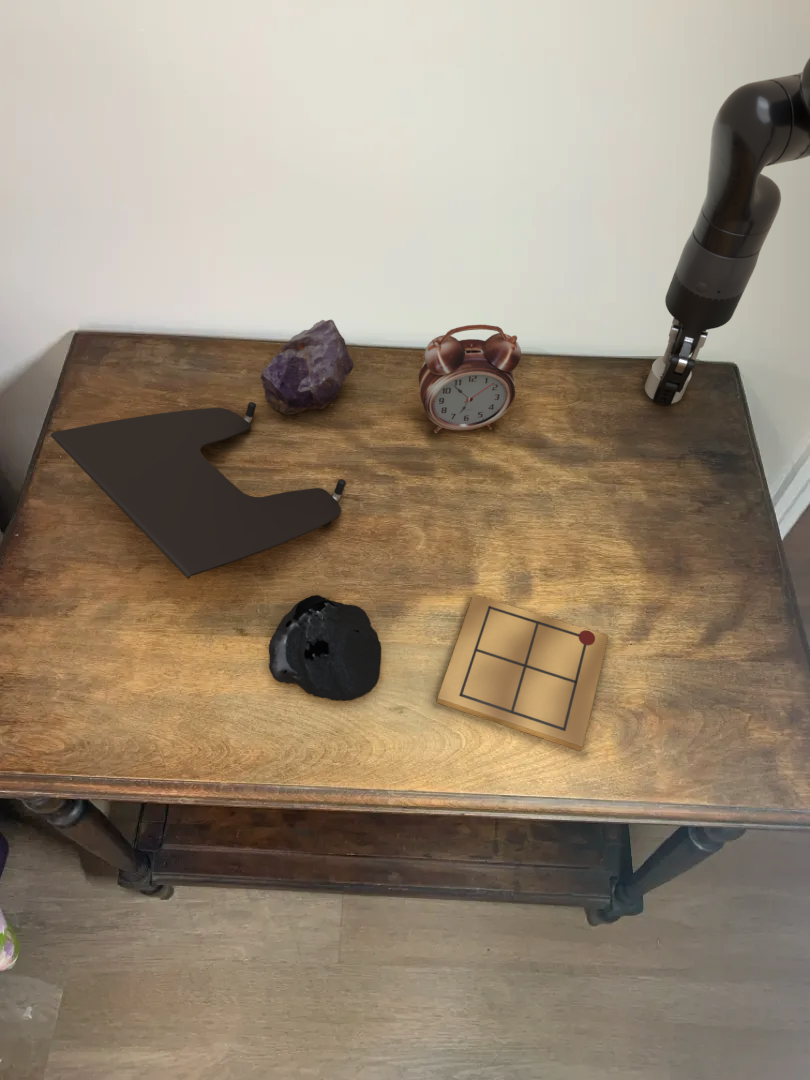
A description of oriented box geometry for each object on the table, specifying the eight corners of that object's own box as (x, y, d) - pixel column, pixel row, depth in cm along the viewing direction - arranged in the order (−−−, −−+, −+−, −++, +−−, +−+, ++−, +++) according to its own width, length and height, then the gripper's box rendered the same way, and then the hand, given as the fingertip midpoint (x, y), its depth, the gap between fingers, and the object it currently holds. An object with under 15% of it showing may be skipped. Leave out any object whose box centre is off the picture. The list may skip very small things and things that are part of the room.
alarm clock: (420, 440, 95) (427, 344, 83) (414, 410, 98) (420, 312, 85) (511, 433, 96) (531, 337, 84) (503, 403, 99) (521, 306, 86)
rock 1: (259, 406, 99) (321, 444, 96) (240, 360, 92) (307, 400, 88) (320, 344, 103) (382, 379, 99) (307, 295, 95) (374, 331, 92)
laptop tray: (342, 562, 92) (368, 499, 87) (174, 632, 75) (194, 559, 70) (219, 448, 101) (235, 385, 96) (43, 488, 84) (52, 414, 79)
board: (605, 641, 81) (608, 635, 80) (580, 751, 75) (583, 746, 74) (472, 599, 84) (473, 592, 82) (436, 702, 77) (437, 697, 76)
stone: (685, 381, 102) (694, 361, 99) (680, 408, 99) (689, 388, 97) (647, 372, 103) (655, 352, 100) (641, 398, 100) (649, 378, 97)
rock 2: (320, 663, 85) (405, 665, 81) (268, 707, 77) (360, 712, 72) (302, 580, 83) (388, 578, 79) (246, 616, 75) (340, 616, 70)
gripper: (740, 325, 82) (686, 436, 96) (754, 242, 90) (702, 356, 104) (666, 307, 83) (624, 419, 97) (686, 226, 91) (644, 341, 105)
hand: (665, 386), depth 101 cm, fingers closed on stone, 4 cm apart
